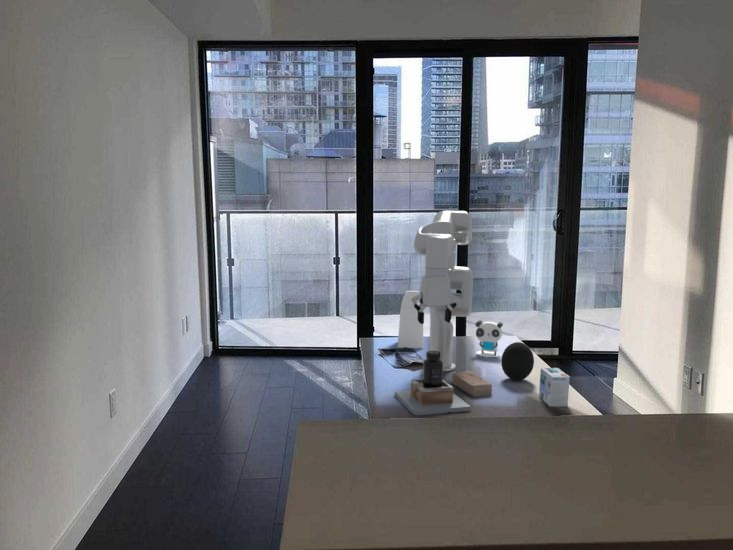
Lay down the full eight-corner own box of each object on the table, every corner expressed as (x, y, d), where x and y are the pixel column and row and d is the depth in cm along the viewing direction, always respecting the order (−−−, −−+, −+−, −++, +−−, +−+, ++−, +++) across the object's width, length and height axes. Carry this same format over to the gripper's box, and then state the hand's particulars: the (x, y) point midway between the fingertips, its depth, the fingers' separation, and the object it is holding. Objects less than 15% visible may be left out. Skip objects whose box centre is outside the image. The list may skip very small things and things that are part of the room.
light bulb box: (538, 396, 217) (540, 367, 215) (556, 396, 217) (558, 367, 216) (549, 406, 206) (551, 376, 205) (568, 406, 207) (570, 376, 205)
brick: (493, 395, 218) (493, 382, 217) (472, 397, 215) (473, 385, 214) (470, 381, 233) (470, 370, 232) (451, 383, 230) (451, 371, 230)
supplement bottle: (444, 384, 209) (445, 350, 207) (440, 390, 202) (441, 355, 201) (425, 381, 211) (426, 348, 209) (420, 387, 205) (421, 353, 203)
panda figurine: (472, 355, 270) (473, 322, 268) (478, 349, 280) (479, 318, 278) (498, 358, 265) (500, 325, 263) (503, 352, 275) (505, 320, 273)
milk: (423, 342, 292) (425, 289, 288) (423, 348, 280) (425, 293, 277) (398, 341, 293) (400, 288, 289) (397, 347, 281) (399, 292, 278)
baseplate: (394, 395, 214) (394, 391, 214) (446, 391, 220) (446, 387, 220) (414, 415, 195) (414, 411, 195) (470, 410, 201) (470, 406, 201)
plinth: (410, 394, 211) (411, 379, 210) (439, 392, 214) (440, 377, 213) (422, 405, 200) (422, 389, 200) (452, 402, 204) (453, 387, 203)
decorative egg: (496, 375, 241) (498, 338, 239) (526, 374, 242) (528, 338, 240) (506, 384, 229) (508, 346, 227) (537, 384, 230) (539, 346, 228)
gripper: (455, 270, 208) (453, 319, 210) (408, 271, 203) (406, 321, 205) (464, 273, 201) (462, 323, 203) (416, 274, 196) (414, 326, 198)
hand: (434, 322), depth 204 cm, fingers open, 9 cm apart
